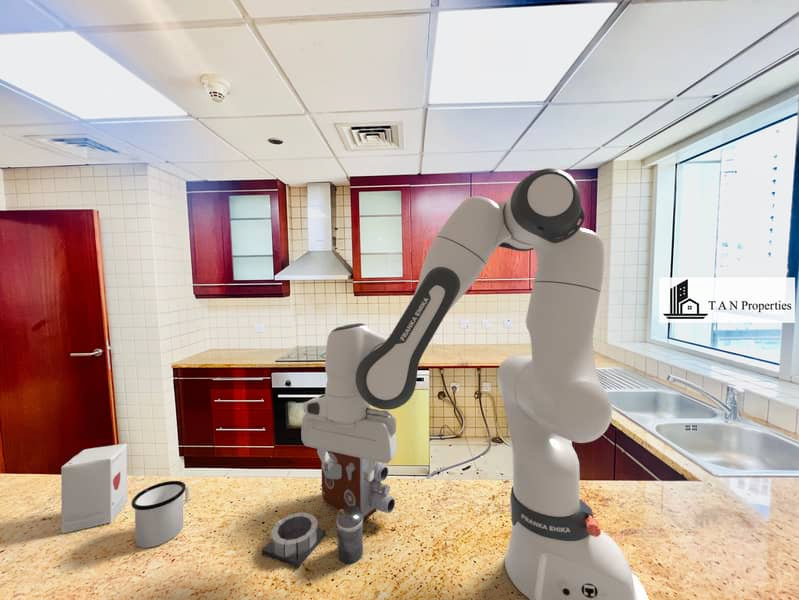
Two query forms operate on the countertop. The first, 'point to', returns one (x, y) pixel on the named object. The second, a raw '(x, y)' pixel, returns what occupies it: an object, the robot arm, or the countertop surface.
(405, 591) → the countertop surface
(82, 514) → the supplement box
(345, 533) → the lens
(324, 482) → the cine camera
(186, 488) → the mug
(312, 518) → the mount
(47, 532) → the countertop surface
